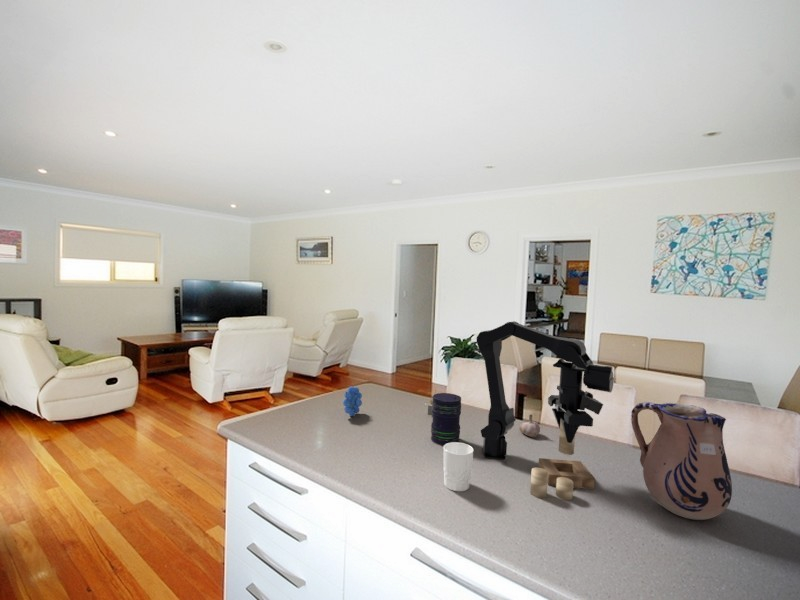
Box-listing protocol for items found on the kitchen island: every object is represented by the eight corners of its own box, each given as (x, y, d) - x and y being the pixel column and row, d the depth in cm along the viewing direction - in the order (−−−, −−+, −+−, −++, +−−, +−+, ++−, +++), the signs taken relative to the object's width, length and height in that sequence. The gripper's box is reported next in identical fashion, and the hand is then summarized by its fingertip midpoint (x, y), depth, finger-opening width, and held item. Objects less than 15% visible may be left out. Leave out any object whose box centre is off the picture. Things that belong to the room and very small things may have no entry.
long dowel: (561, 454, 108) (563, 422, 108) (556, 448, 112) (558, 417, 112) (575, 455, 108) (578, 423, 108) (570, 449, 112) (572, 418, 112)
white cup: (453, 495, 98) (455, 456, 98) (436, 481, 105) (437, 444, 105) (477, 489, 102) (479, 451, 102) (459, 475, 109) (461, 440, 109)
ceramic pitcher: (736, 542, 85) (745, 428, 84) (624, 509, 96) (631, 408, 95) (722, 505, 99) (730, 408, 98) (626, 480, 111) (632, 393, 110)
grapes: (352, 422, 147) (354, 390, 146) (338, 418, 150) (339, 388, 149) (369, 413, 157) (370, 384, 157) (355, 410, 160) (356, 381, 160)
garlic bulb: (537, 440, 137) (538, 418, 137) (516, 435, 141) (517, 413, 141) (541, 433, 144) (542, 412, 143) (521, 429, 147) (522, 408, 147)
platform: (425, 408, 168) (426, 393, 168) (463, 418, 158) (464, 402, 158) (410, 415, 159) (411, 399, 158) (450, 426, 148) (451, 409, 148)
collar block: (548, 485, 106) (549, 474, 106) (538, 468, 116) (538, 458, 116) (594, 488, 105) (594, 478, 105) (579, 471, 115) (580, 461, 115)
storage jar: (426, 442, 131) (428, 398, 130) (435, 432, 140) (437, 391, 140) (455, 448, 127) (457, 403, 127) (462, 437, 136) (464, 395, 136)
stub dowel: (558, 499, 99) (559, 484, 99) (553, 491, 103) (554, 476, 103) (574, 501, 98) (575, 485, 98) (569, 492, 102) (570, 477, 102)
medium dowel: (532, 497, 99) (533, 474, 99) (528, 489, 103) (529, 467, 103) (548, 498, 99) (549, 475, 99) (544, 490, 103) (545, 468, 103)
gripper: (616, 396, 99) (611, 456, 100) (586, 378, 118) (583, 429, 119) (571, 393, 100) (567, 452, 101) (549, 376, 119) (545, 426, 119)
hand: (566, 439), depth 110 cm, fingers closed on long dowel, 4 cm apart
